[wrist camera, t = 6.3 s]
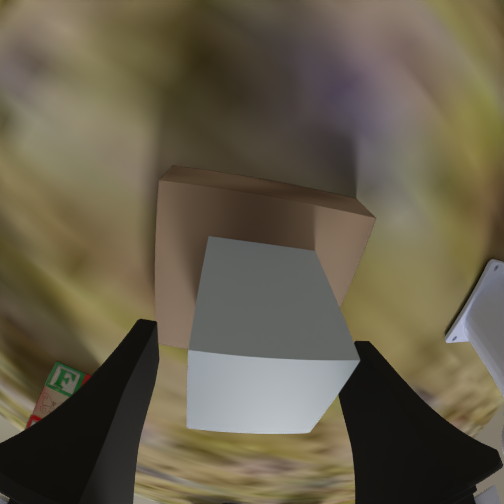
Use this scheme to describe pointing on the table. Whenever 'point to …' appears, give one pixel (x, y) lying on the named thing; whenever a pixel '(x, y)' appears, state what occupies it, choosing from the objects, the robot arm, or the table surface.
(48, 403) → the stack of blocks
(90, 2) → the table surface
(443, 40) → the table surface
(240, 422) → the slate block
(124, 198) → the table surface
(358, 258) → the walnut block
